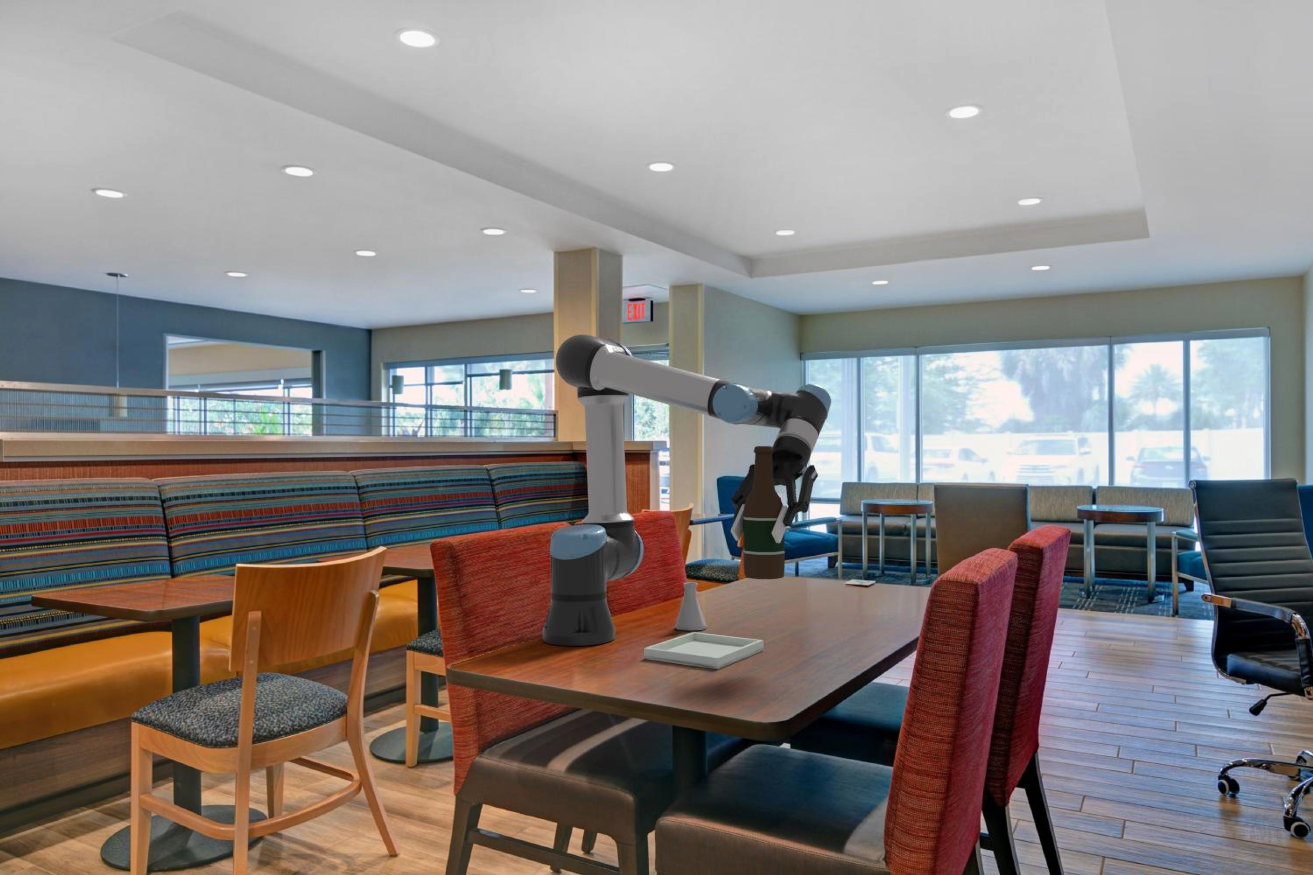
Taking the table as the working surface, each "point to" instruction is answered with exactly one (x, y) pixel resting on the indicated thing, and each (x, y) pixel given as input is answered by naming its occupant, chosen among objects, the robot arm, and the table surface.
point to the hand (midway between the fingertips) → (755, 536)
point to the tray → (704, 650)
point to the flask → (690, 610)
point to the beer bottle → (762, 522)
